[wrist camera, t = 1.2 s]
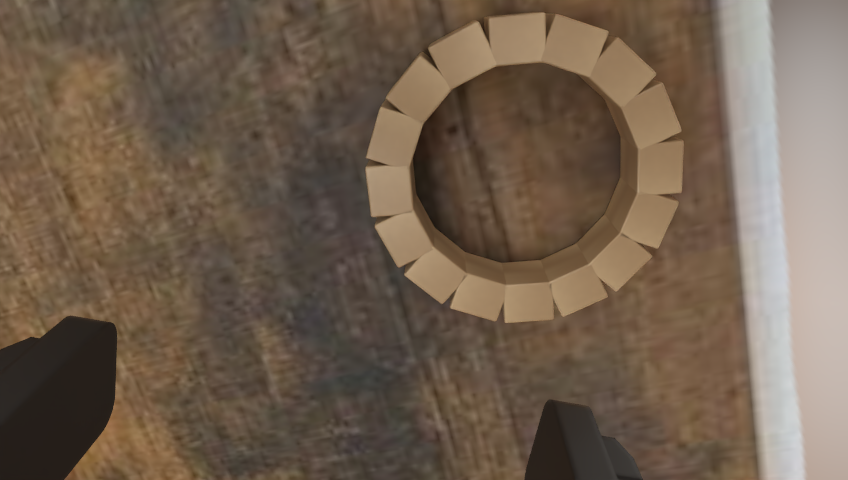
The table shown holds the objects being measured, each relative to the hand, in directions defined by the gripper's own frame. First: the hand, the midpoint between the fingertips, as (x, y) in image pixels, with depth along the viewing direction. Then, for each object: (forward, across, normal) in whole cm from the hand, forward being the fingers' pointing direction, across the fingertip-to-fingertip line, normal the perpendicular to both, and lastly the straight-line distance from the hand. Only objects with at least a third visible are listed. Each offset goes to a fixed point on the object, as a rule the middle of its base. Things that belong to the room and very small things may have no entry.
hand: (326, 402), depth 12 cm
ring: (+15, -5, -2) cm, 16 cm away
